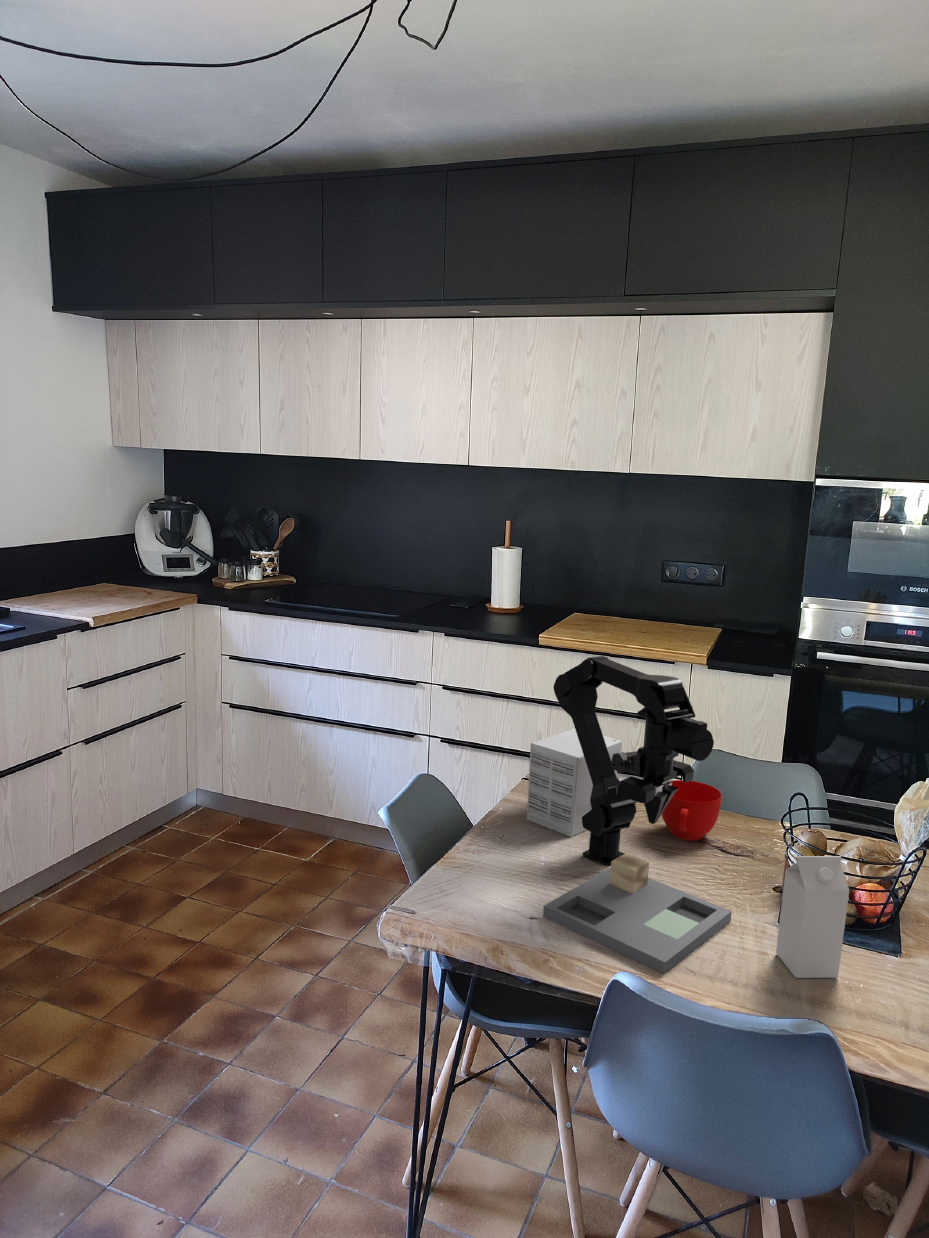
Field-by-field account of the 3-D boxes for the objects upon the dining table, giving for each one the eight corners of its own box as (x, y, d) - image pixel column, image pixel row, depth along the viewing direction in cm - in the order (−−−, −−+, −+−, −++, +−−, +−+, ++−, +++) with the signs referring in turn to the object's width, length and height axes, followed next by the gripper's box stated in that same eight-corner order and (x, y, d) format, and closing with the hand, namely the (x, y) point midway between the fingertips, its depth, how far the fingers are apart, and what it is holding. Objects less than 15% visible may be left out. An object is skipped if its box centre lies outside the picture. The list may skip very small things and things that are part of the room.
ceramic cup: (648, 846, 183) (651, 801, 181) (662, 817, 198) (666, 776, 196) (711, 859, 178) (716, 813, 176) (721, 829, 193) (725, 786, 192)
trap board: (615, 874, 170) (616, 864, 169) (730, 921, 154) (731, 911, 154) (543, 916, 153) (543, 905, 153) (664, 973, 137) (665, 962, 137)
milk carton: (775, 953, 144) (787, 846, 141) (816, 953, 145) (830, 846, 141) (795, 979, 137) (808, 866, 134) (838, 978, 138) (852, 866, 135)
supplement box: (570, 799, 207) (575, 726, 203) (617, 817, 198) (623, 740, 194) (524, 819, 194) (528, 741, 191) (572, 838, 185) (577, 757, 182)
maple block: (624, 875, 165) (626, 852, 164) (647, 884, 162) (649, 861, 161) (609, 883, 162) (611, 861, 161) (633, 893, 158) (634, 870, 158)
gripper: (647, 724, 174) (641, 798, 177) (594, 744, 161) (588, 823, 164) (698, 738, 167) (691, 814, 170) (647, 759, 153) (640, 842, 156)
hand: (652, 823), depth 165 cm, fingers closed
